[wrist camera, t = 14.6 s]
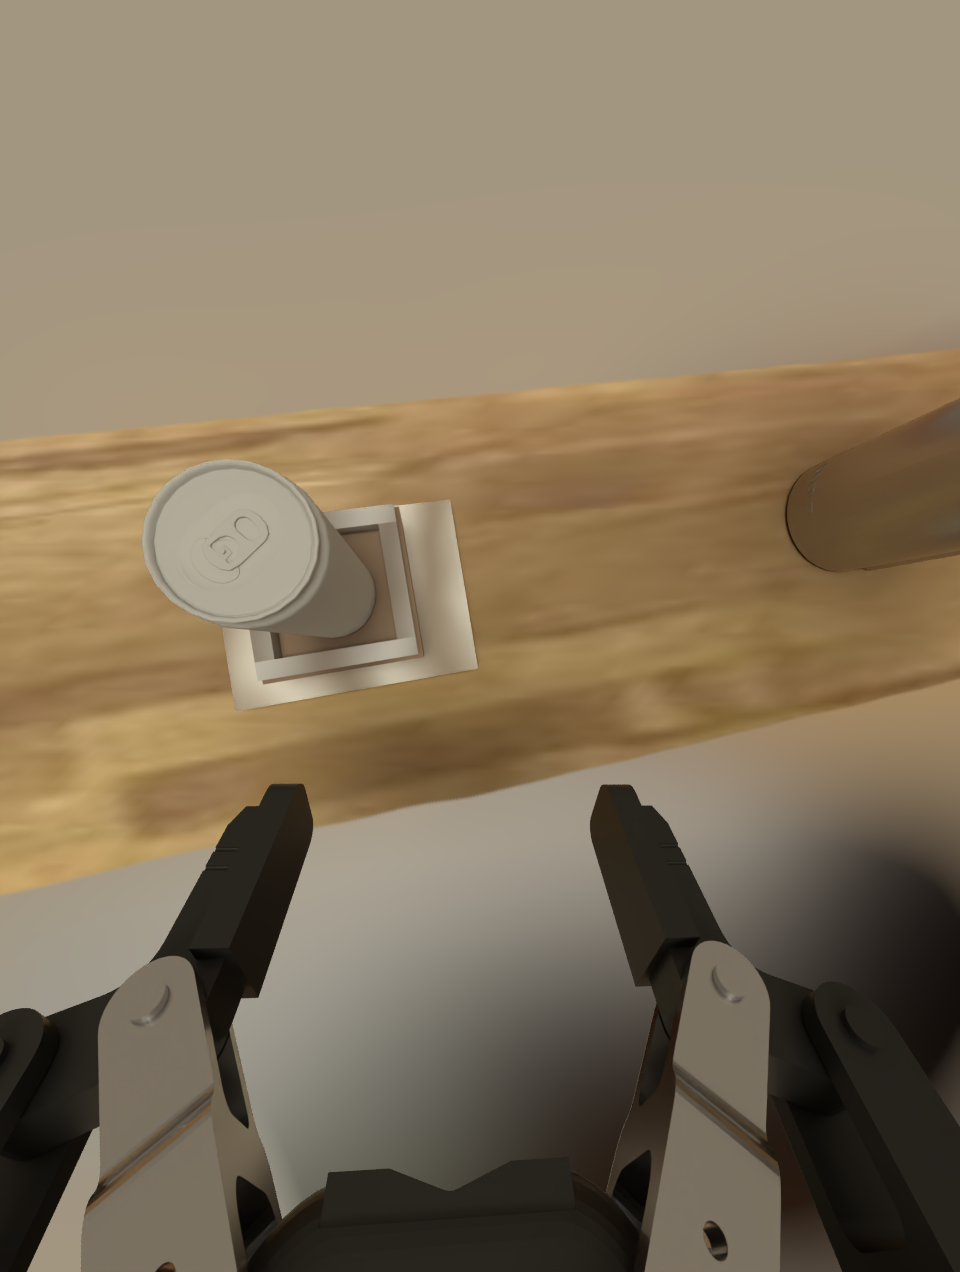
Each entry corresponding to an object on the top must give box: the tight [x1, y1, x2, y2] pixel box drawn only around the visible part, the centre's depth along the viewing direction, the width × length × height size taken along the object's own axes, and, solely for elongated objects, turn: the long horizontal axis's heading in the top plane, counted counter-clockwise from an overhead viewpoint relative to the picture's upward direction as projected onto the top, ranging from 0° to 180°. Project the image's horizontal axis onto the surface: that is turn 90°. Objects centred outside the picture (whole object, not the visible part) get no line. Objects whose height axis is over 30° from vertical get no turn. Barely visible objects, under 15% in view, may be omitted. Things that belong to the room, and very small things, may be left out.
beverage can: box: [142, 459, 376, 638], centre depth 17 cm, size 5×5×12 cm
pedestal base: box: [222, 500, 478, 711], centre depth 25 cm, size 16×12×7 cm
